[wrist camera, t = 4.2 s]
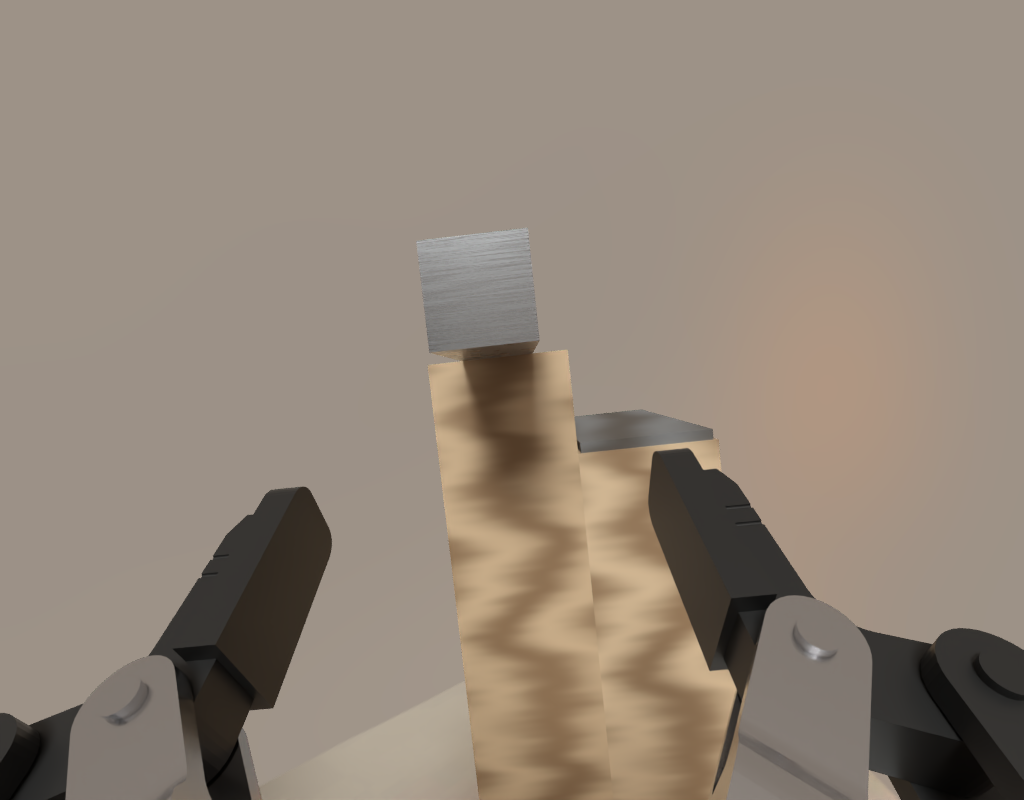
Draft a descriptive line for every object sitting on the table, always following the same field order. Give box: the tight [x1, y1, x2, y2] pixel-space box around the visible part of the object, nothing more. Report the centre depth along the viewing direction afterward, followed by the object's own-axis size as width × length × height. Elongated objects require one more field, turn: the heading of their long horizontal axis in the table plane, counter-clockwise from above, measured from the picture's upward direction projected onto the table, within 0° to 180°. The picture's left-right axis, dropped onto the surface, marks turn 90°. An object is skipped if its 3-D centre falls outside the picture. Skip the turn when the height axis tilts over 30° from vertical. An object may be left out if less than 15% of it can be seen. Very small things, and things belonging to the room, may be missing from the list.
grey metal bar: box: [416, 228, 539, 361], centre depth 28 cm, size 4×24×4 cm, turn 179°
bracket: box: [428, 350, 736, 800], centre depth 33 cm, size 16×15×32 cm
